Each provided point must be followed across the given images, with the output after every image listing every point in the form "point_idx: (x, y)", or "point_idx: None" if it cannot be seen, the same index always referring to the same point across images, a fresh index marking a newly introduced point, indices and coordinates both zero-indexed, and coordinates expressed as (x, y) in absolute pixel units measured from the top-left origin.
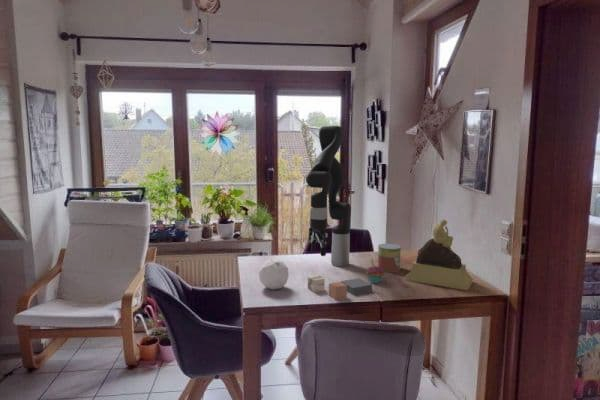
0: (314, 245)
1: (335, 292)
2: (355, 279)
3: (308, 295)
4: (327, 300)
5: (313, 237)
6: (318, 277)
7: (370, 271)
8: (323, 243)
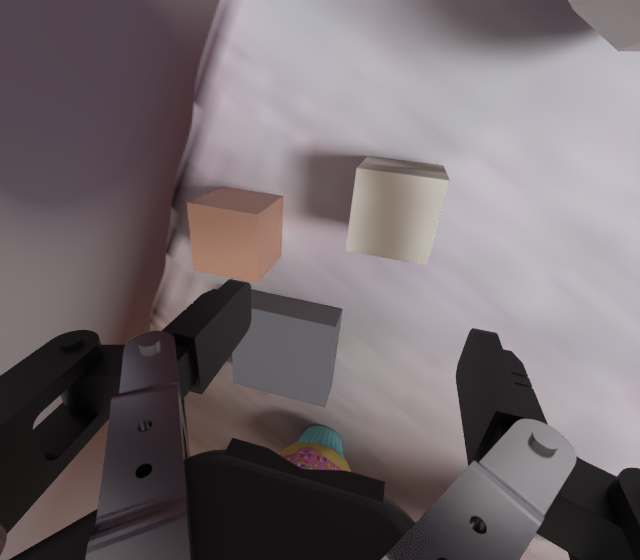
0: (472, 412)
1: (203, 195)
2: (318, 385)
3: (341, 96)
4: (231, 147)
5: (418, 524)
6: (386, 234)
7: (304, 461)
8: (36, 372)
